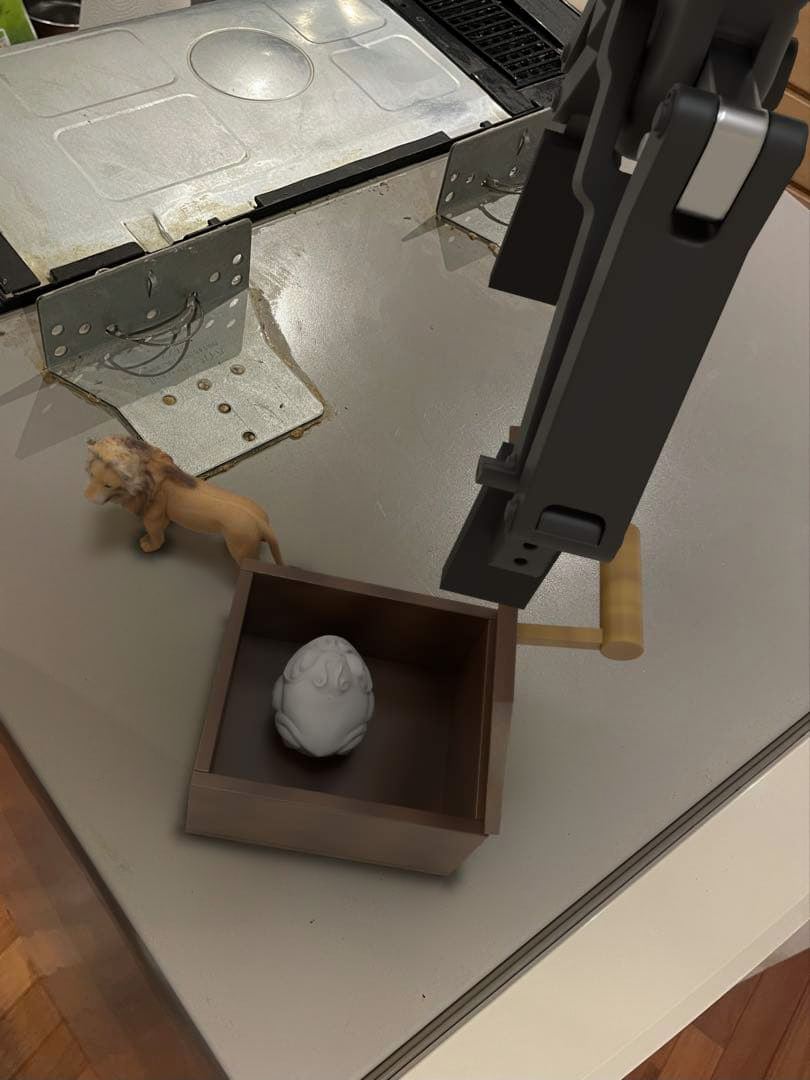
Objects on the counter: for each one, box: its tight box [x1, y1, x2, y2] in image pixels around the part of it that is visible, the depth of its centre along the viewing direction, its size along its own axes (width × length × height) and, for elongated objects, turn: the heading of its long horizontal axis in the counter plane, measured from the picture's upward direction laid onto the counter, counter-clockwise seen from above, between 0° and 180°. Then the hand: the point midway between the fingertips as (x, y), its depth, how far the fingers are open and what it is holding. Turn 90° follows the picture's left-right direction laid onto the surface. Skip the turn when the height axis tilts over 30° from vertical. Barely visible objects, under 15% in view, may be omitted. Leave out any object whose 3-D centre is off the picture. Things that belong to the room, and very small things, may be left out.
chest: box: [184, 558, 498, 877], centre depth 58 cm, size 16×14×9 cm
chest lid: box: [484, 425, 645, 836], centre depth 48 cm, size 16×14×6 cm
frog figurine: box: [271, 635, 375, 757], centre depth 58 cm, size 6×7×7 cm
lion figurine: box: [82, 433, 305, 570], centre depth 63 cm, size 15×5×9 cm, turn 79°
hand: (504, 424), depth 34 cm, fingers open, 13 cm apart
